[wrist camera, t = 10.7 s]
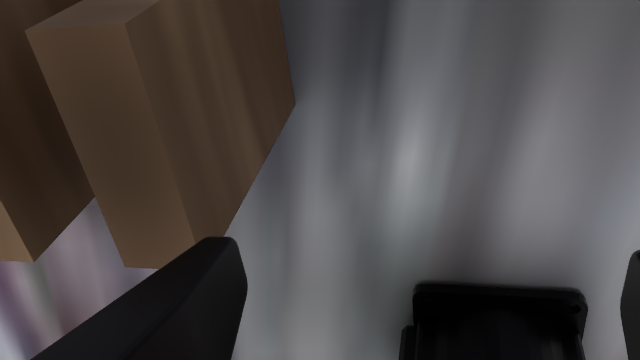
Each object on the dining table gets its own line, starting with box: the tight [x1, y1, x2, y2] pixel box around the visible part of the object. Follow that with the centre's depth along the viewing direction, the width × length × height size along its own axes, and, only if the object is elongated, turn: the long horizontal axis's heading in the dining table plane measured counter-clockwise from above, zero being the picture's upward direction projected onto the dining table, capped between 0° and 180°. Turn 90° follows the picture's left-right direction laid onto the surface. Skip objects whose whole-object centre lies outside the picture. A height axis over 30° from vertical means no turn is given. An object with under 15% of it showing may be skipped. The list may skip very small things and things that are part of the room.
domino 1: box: [0, 0, 95, 262], centre depth 15 cm, size 2×6×8 cm, turn 8°
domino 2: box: [25, 0, 295, 269], centre depth 14 cm, size 2×6×8 cm, turn 8°
